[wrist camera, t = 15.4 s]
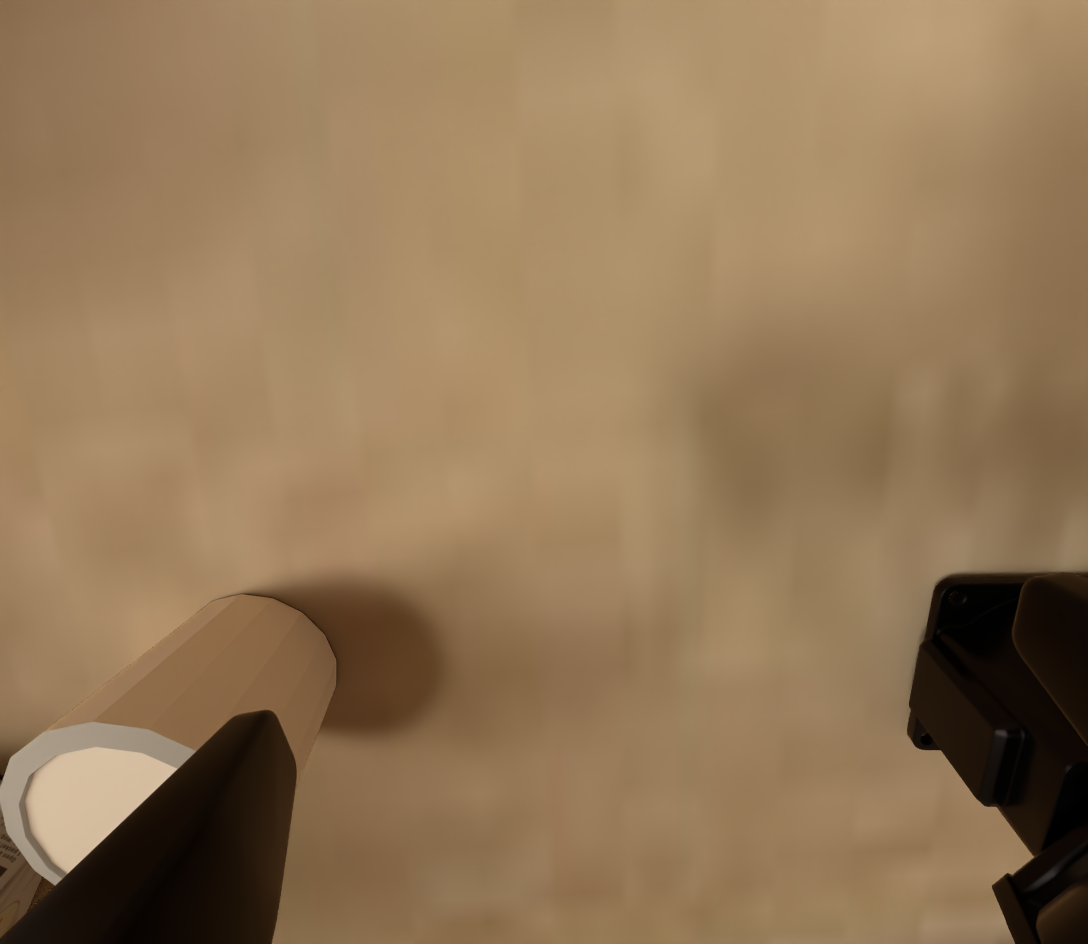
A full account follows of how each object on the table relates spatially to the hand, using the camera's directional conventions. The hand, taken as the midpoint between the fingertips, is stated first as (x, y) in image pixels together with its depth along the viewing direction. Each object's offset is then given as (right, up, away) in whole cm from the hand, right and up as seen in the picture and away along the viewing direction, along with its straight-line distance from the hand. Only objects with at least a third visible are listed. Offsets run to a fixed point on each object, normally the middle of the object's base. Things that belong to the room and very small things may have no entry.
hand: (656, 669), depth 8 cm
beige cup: (-12, -4, +15) cm, 20 cm away
